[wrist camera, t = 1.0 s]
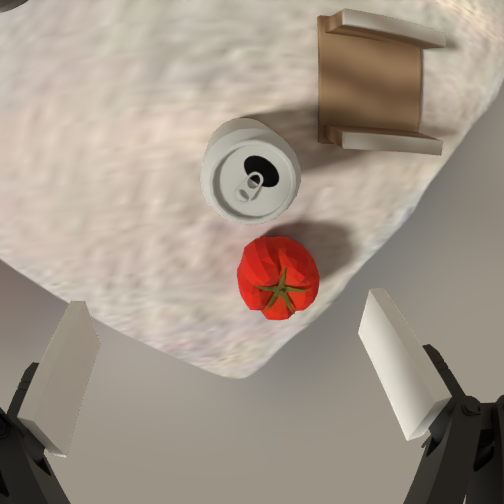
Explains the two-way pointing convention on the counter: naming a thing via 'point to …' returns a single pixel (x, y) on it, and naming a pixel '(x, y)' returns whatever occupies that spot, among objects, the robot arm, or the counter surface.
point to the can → (249, 172)
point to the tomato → (277, 277)
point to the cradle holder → (372, 82)
